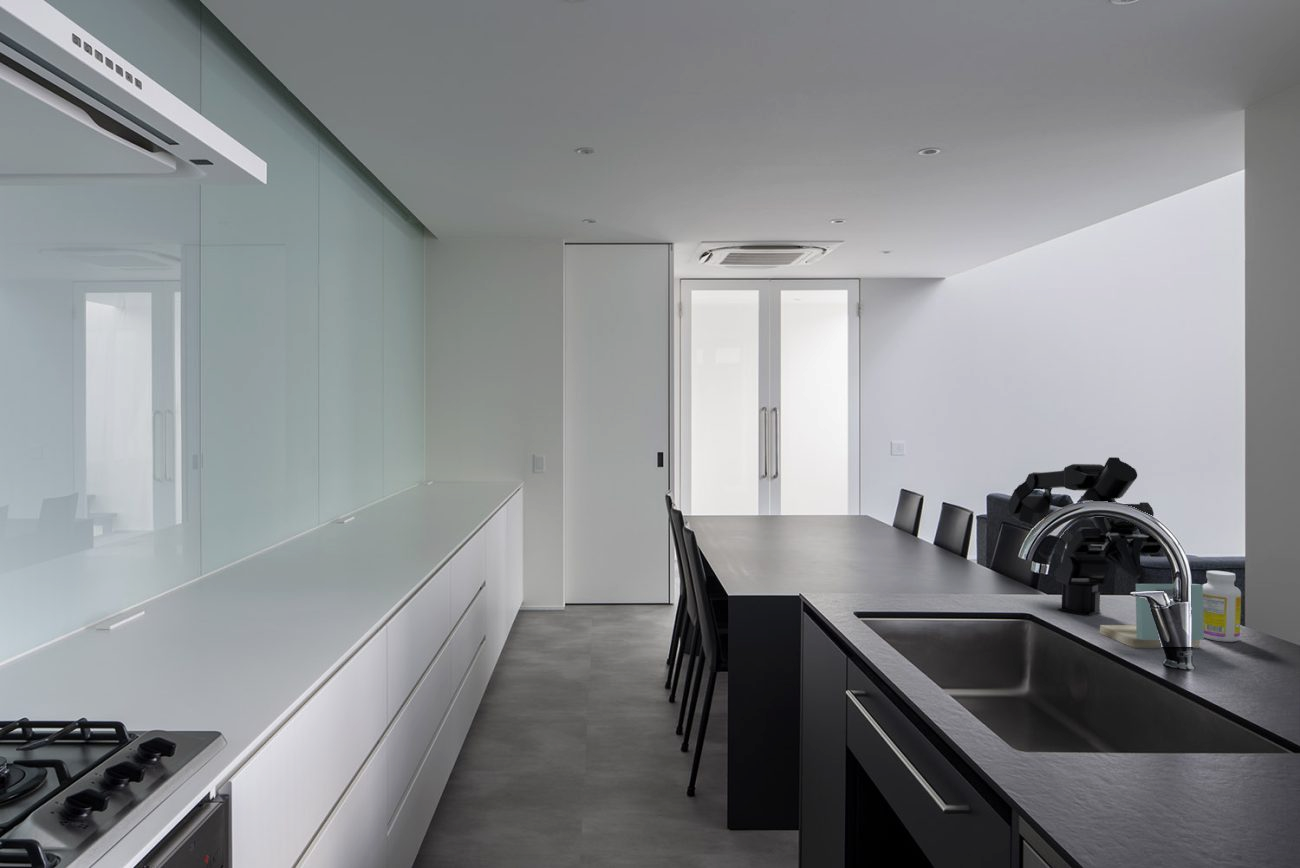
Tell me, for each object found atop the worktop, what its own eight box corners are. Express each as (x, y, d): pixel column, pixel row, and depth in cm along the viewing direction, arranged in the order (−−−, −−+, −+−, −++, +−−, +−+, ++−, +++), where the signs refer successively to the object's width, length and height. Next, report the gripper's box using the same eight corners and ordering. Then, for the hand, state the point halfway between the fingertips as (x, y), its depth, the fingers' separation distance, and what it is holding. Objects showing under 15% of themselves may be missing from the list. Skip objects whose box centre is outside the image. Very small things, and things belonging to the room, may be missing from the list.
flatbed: (1099, 633, 164) (1099, 625, 164) (1162, 633, 165) (1162, 625, 165) (1133, 647, 154) (1133, 639, 154) (1199, 647, 156) (1199, 639, 155)
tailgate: (1136, 638, 154) (1135, 583, 155) (1197, 638, 155) (1196, 584, 156) (1145, 640, 152) (1144, 585, 152) (1207, 640, 153) (1206, 585, 153)
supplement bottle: (1226, 634, 166) (1229, 570, 165) (1247, 643, 159) (1250, 576, 159) (1191, 632, 166) (1193, 568, 166) (1209, 642, 160) (1212, 575, 159)
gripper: (1079, 487, 167) (1112, 551, 157) (1167, 488, 169) (1206, 552, 158) (1055, 521, 175) (1085, 584, 165) (1140, 522, 177) (1175, 585, 166)
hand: (1138, 576), depth 163 cm, fingers closed
